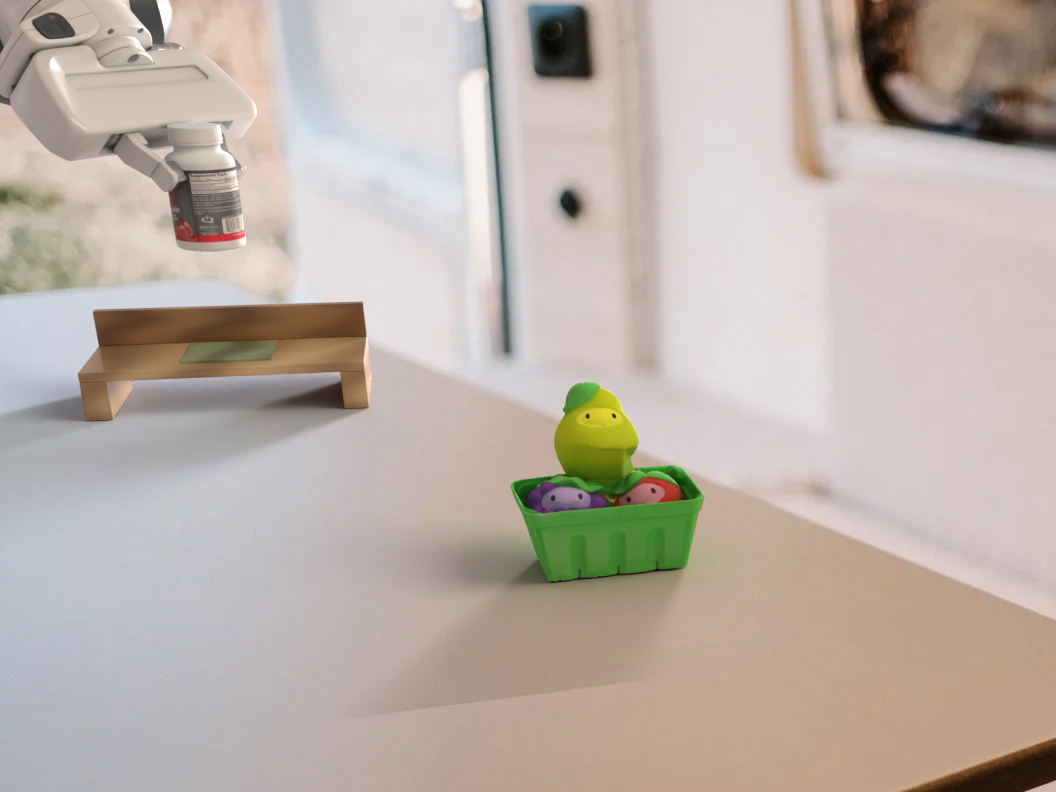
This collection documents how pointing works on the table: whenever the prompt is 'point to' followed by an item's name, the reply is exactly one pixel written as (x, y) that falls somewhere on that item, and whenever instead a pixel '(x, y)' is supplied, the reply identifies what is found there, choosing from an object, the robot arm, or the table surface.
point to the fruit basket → (606, 498)
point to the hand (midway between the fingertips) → (207, 181)
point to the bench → (225, 347)
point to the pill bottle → (205, 190)
